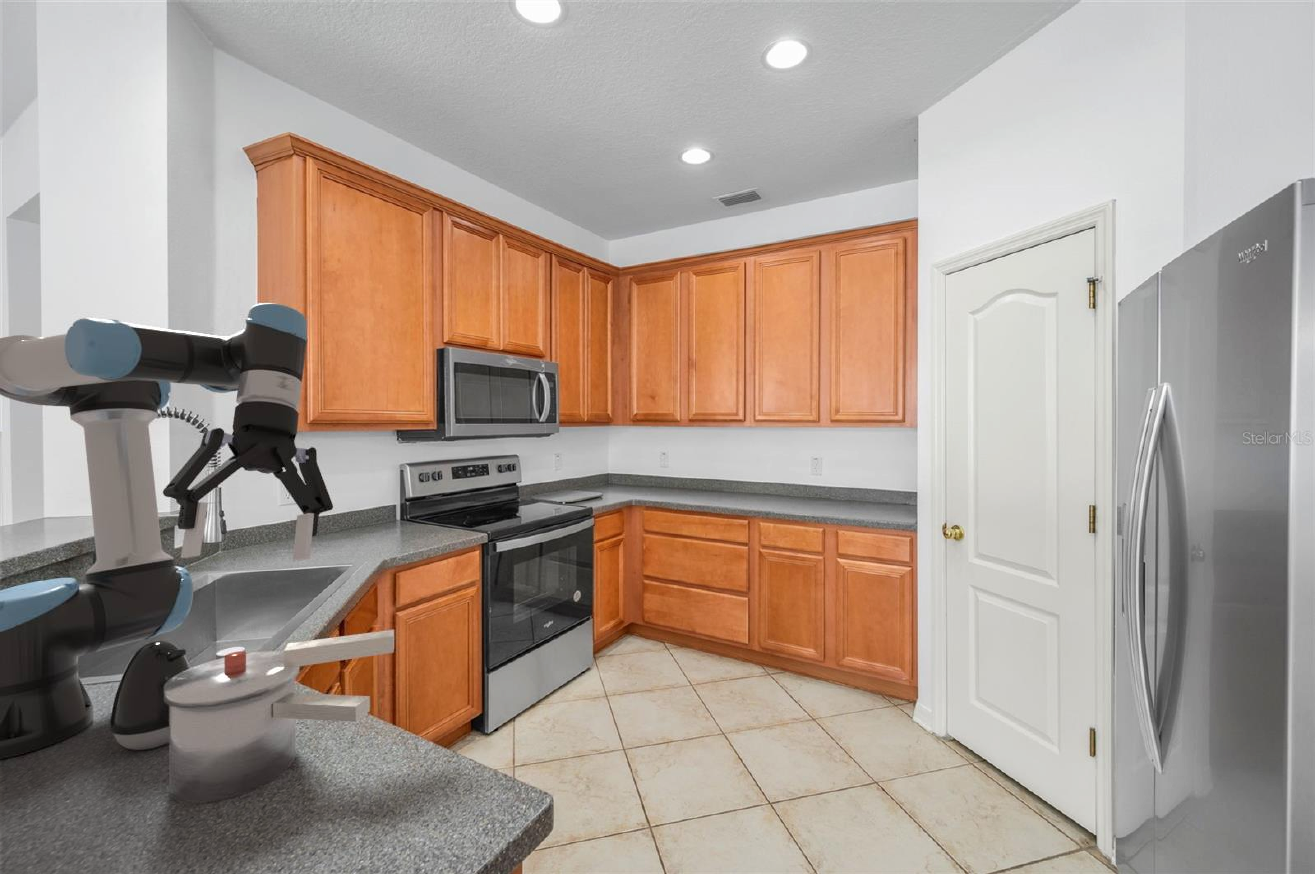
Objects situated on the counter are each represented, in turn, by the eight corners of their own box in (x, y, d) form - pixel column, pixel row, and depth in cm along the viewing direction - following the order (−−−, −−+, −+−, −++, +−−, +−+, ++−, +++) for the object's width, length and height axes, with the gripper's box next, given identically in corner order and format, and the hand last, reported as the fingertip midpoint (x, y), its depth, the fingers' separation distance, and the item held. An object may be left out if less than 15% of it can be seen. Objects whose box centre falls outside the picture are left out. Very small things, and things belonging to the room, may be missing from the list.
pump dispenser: (147, 763, 80) (147, 656, 80) (91, 755, 82) (90, 651, 82) (217, 727, 90) (216, 632, 90) (165, 721, 92) (164, 628, 92)
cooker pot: (139, 799, 72) (138, 706, 72) (233, 741, 86) (233, 662, 86) (327, 813, 69) (326, 715, 69) (393, 750, 83) (392, 669, 83)
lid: (142, 717, 68) (142, 685, 68) (187, 671, 82) (187, 644, 82) (392, 677, 79) (392, 649, 79) (395, 642, 93) (395, 618, 93)
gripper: (179, 374, 68) (149, 551, 62) (364, 423, 89) (355, 557, 84) (147, 388, 71) (115, 558, 65) (333, 432, 93) (322, 563, 87)
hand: (250, 558), depth 74 cm, fingers open, 13 cm apart
